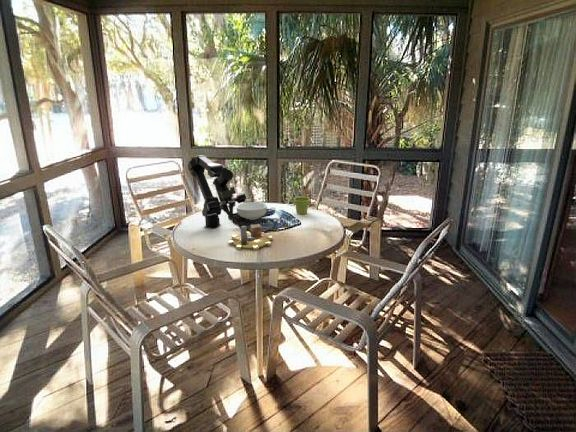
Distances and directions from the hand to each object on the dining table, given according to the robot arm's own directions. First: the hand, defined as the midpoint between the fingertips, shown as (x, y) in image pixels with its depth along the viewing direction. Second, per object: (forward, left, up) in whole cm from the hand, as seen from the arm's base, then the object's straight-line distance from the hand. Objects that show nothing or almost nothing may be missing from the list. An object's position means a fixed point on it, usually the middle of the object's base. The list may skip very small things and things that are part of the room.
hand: (232, 218), depth 186 cm
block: (+10, +5, -9) cm, 14 cm away
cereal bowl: (-5, +34, -11) cm, 36 cm away
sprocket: (+10, 0, -11) cm, 14 cm away
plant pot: (+19, +51, -11) cm, 55 cm away
